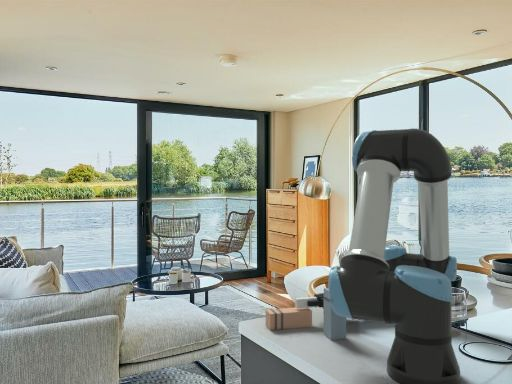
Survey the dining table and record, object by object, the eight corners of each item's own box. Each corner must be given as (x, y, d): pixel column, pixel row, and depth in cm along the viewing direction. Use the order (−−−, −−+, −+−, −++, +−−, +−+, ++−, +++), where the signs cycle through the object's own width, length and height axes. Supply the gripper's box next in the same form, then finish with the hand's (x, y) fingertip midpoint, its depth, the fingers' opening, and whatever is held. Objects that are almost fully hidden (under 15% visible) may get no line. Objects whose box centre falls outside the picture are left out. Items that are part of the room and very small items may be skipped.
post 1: (306, 306, 133) (265, 309, 130) (312, 310, 129) (270, 313, 125) (305, 321, 133) (265, 325, 130) (312, 326, 129) (270, 330, 125)
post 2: (338, 332, 123) (338, 287, 123) (346, 338, 119) (346, 291, 118) (323, 334, 122) (323, 288, 122) (330, 340, 117) (330, 292, 117)
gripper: (377, 315, 130) (304, 322, 124) (356, 304, 143) (288, 309, 136) (377, 290, 130) (304, 296, 124) (356, 281, 143) (288, 285, 136)
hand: (296, 303), depth 130 cm, fingers closed
